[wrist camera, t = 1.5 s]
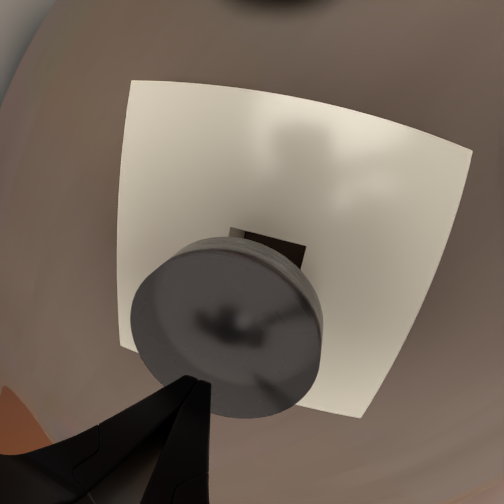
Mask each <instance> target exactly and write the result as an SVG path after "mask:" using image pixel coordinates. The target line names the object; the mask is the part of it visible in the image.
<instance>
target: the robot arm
mask: <svg viewBox="0 0 504 504" xmlns="http://www.w3.org/2000/svg"><path fill="white" fill-rule="evenodd" d="M211 388H212V384H211V383H210V382H207V381H204V380H201V379H200V380H198V379H197V378H195V377H193V376H190V375H184V376H182V377H180V378H179V379H177V380H175V381H174V382H172V383H170V384H169V385H167V386H165V387H164V388H162V389H160V390H158V391H157V392H155V393H153V394H152V395H150V396H148V397H146V398H145V399H143V400H141V401H139V402H138V403H136V404H134V405H132V406H131V407H129V408H127V409H125V410H123V411H122V412H120V413H118V414H116V415H114V416H113V417H111V418H109V419H107V420H105V421H103V422H102V423H100V424H99V425H96V426H94V427H92V428H90V429H88V430H86V431H84V432H82V433H80V434H78V435H76V436H73V437H71V438H68V439H66V440H63V441H61V442H58V443H55V444H52V445H49V446H46V447H44V448H41V449H37V450H34V451H32V452H28V453H24V454H19V455H3V454H0V504H139V503H140V504H209V485H208V483H209V474H208V472H209V439H210V412H211Z"/></svg>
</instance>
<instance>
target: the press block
mask: <svg viewBox="0 0 504 504" xmlns="http://www.w3.org/2000/svg"><path fill="white" fill-rule="evenodd" d="M472 153H473V151H472V150H469V149H467V148H465V147H462V146H460V145H457V144H455V143H452V142H450V141H447V140H444V139H442V138H439V137H436V136H434V135H431V134H428V133H425V132H423V131H420V130H417V129H414V128H411V127H408V126H405V125H402V124H399V123H396V122H392V121H389V120H386V119H382V118H379V117H376V116H372V115H369V114H365V113H361V112H358V111H354V110H350V109H346V108H342V107H338V106H334V105H330V104H325V103H321V102H316V101H312V100H307V99H302V98H297V97H292V96H286V95H281V94H275V93H269V92H263V91H256V90H250V89H242V88H235V87H226V86H217V85H208V84H197V83H183V82H167V81H136V80H132V81H131V87H130V93H129V100H128V107H127V114H126V121H125V129H124V138H123V147H122V157H121V169H120V182H119V198H118V220H117V295H118V318H119V333H120V345H121V346H123V347H125V348H128V349H130V350H132V351H135V352H137V353H138V351H137V348H136V346H135V343H134V340H133V336H132V332H131V325H130V311H131V306H132V301H133V298H134V296H135V293H136V291H137V290H138V288H139V286H140V284H141V283H142V282H143V281H144V280H145V278H146V277H147V276H148V275H150V274H151V273H152V272H153V271H154V270H156V269H157V268H158V267H159V266H161V265H162V264H163V263H164V262H165V261H167V260H168V259H169V258H170V257H172V256H173V255H174V254H175V253H177V252H178V251H179V250H180V249H182V248H184V247H185V246H187V245H189V244H191V243H194V242H196V241H199V240H202V239H207V238H212V237H237V238H242V239H244V235H245V231H249V232H253V233H257V234H261V235H265V236H269V237H273V238H276V239H280V240H284V241H288V242H292V243H296V244H300V245H304V246H306V249H305V253H304V257H303V261H302V264H301V268H300V270H301V271H302V272H303V274H304V275H305V276H306V277H307V279H308V280H309V282H310V283H311V284H312V286H313V288H314V290H315V292H316V294H317V296H318V299H319V301H320V304H321V308H322V313H323V326H324V327H323V338H322V348H321V358H320V365H319V371H318V374H317V377H316V380H315V382H314V384H313V385H312V387H311V389H310V390H309V391H308V393H307V394H306V395H305V396H304V397H303V398H302V399H301V400H300V401H299V402H298V403H296V405H300V406H304V407H308V408H313V409H317V410H322V411H326V412H331V413H336V414H341V415H346V416H351V417H357V418H361V417H362V415H363V414H364V412H365V411H366V409H367V407H368V406H369V404H370V403H371V401H372V399H373V398H374V396H375V394H376V393H377V391H378V389H379V387H380V386H381V384H382V382H383V381H384V379H385V377H386V375H387V373H388V372H389V370H390V368H391V366H392V364H393V362H394V361H395V359H396V357H397V355H398V353H399V351H400V349H401V347H402V345H403V343H404V341H405V339H406V337H407V335H408V333H409V331H410V329H411V327H412V325H413V323H414V321H415V319H416V316H417V314H418V312H419V310H420V308H421V305H422V303H423V301H424V299H425V296H426V294H427V292H428V289H429V287H430V284H431V282H432V280H433V277H434V275H435V272H436V270H437V267H438V264H439V262H440V259H441V257H442V254H443V251H444V248H445V246H446V243H447V240H448V237H449V234H450V231H451V228H452V225H453V222H454V219H455V216H456V213H457V209H458V206H459V203H460V199H461V196H462V192H463V189H464V185H465V181H466V177H467V174H468V170H469V165H470V161H471V157H472Z"/></svg>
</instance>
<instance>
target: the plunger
mask: <svg viewBox="0 0 504 504" xmlns="http://www.w3.org/2000/svg"><path fill="white" fill-rule="evenodd" d="M130 325H131V332H132V336H133V340H134V343H135V346H136V348H137V351H138V353H139V355H140V357H141V359H142V360H143V362H144V363H145V365H146V366H147V368H148V369H149V370H150V372H151V373H152V374H153V376H154V377H155V378H156V379H157V380H158V381H159V382H160V383H161V384H162V385H163V386H164V387H165V386H167V385H169V384H170V383H172V382H174V381H175V380H177V379H179V378H180V377H182V376H184V375H190V376H193V377H195V378H197V379H198V380H200V379H201V380H204V381H207V382H210V383H211V384H212V388H211V412H210V413H213V414H216V415H220V416H225V417H231V418H261V417H266V416H270V415H274V414H277V413H280V412H282V411H284V410H286V409H288V408H290V407H292V406H293V405H295V404H296V403H298V402H299V401H300V400H301V399H302V398H303V397H304V396H305V395H306V394H307V393H308V391H309V390H310V389H311V387H312V385H313V384H314V382H315V380H316V377H317V374H318V371H319V365H320V358H321V348H322V338H323V327H324V326H323V313H322V308H321V304H320V301H319V299H318V296H317V294H316V292H315V290H314V288H313V286H312V284H311V283H310V282H309V280H308V279H307V277H306V276H305V275H304V274H303V272H302V271H301V270H300V269H299V268H298V267H297V266H296V265H295V264H294V263H292V262H291V261H290V260H289V259H287V258H286V257H285V256H283V255H282V254H280V253H279V252H277V251H275V250H274V249H272V248H269V247H267V246H265V245H263V244H261V243H257V242H254V241H251V240H248V239H242V238H237V237H212V238H207V239H202V240H199V241H196V242H194V243H191V244H189V245H187V246H185V247H184V248H182V249H180V250H179V251H178V252H177V253H175V254H174V255H173V256H172V257H170V258H169V259H168V260H167V261H165V262H164V263H163V264H162V265H161V266H159V267H158V268H157V269H156V270H154V271H153V272H152V273H151V274H150V275H148V276H147V277H146V278H145V280H144V281H143V282H142V283H141V284H140V286H139V288H138V290H137V291H136V293H135V296H134V298H133V301H132V306H131V311H130Z"/></svg>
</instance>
